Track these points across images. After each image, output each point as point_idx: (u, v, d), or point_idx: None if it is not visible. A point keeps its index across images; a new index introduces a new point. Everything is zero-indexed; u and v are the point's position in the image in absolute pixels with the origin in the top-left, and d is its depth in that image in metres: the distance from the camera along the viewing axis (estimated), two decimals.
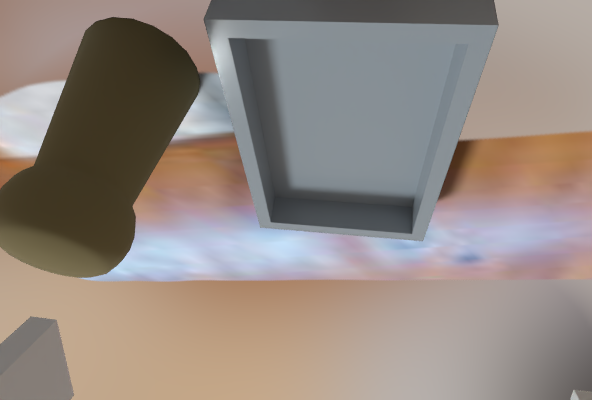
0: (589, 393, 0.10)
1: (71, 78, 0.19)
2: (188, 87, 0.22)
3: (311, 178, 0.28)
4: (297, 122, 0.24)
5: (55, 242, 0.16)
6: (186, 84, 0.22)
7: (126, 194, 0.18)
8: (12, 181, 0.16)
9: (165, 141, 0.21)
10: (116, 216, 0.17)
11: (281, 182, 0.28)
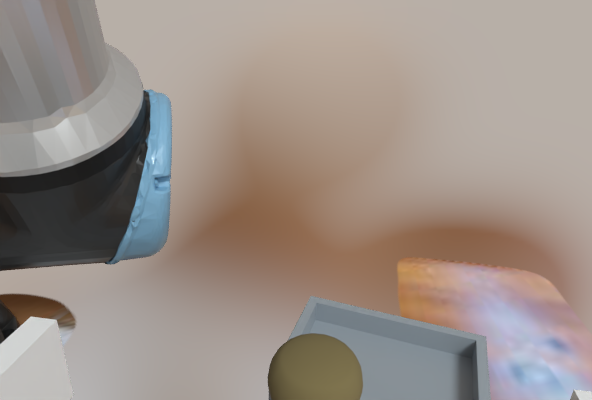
0: (590, 393, 0.10)
1: None
2: None
3: None
4: (372, 396, 0.34)
5: (297, 338, 0.25)
6: None
7: None
8: (268, 383, 0.24)
9: None
10: None
11: None
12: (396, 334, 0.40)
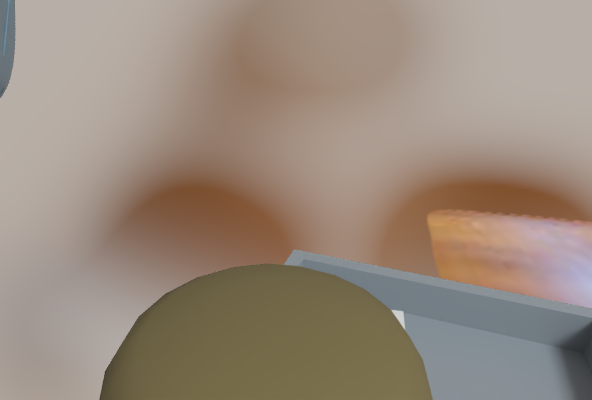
0: None
1: None
2: None
3: None
4: None
5: (216, 273, 0.08)
6: None
7: None
8: None
9: None
10: None
11: None
12: (443, 311, 0.23)
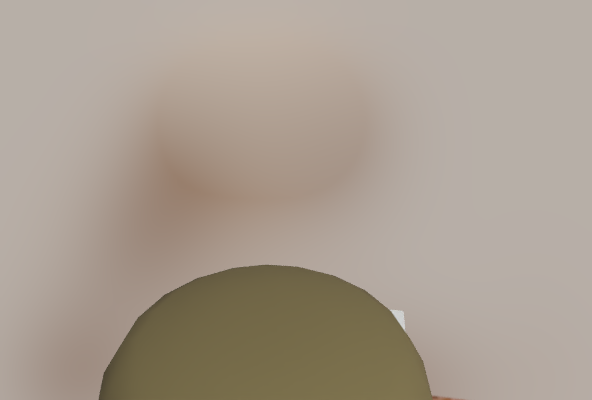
0: None
1: None
2: None
3: None
4: None
5: (216, 275, 0.08)
6: None
7: None
8: None
9: None
10: None
11: None
12: None
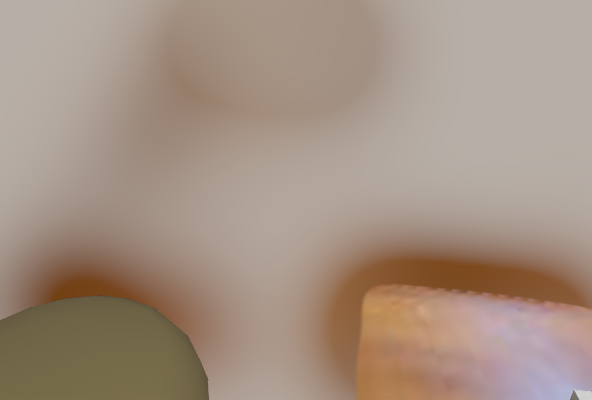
0: (589, 393, 0.10)
1: None
2: None
3: None
4: None
5: (40, 307, 0.09)
6: None
7: None
8: None
9: None
10: None
11: None
12: None
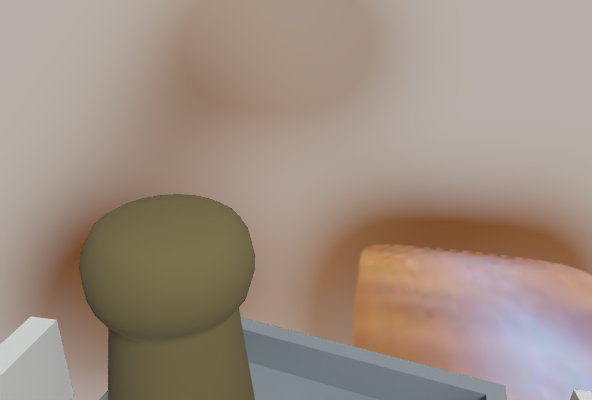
0: (590, 393, 0.10)
1: None
2: None
3: None
4: None
5: (149, 197, 0.15)
6: None
7: None
8: None
9: None
10: None
11: None
12: (335, 377, 0.21)
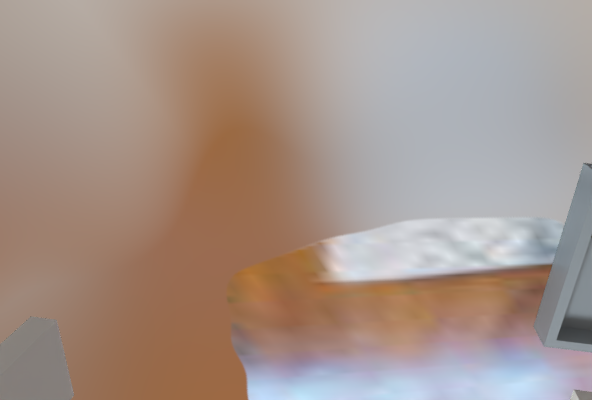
0: (590, 393, 0.10)
1: None
2: None
3: (586, 306, 0.38)
4: None
5: None
6: None
7: None
8: None
9: None
10: None
11: None
12: None
